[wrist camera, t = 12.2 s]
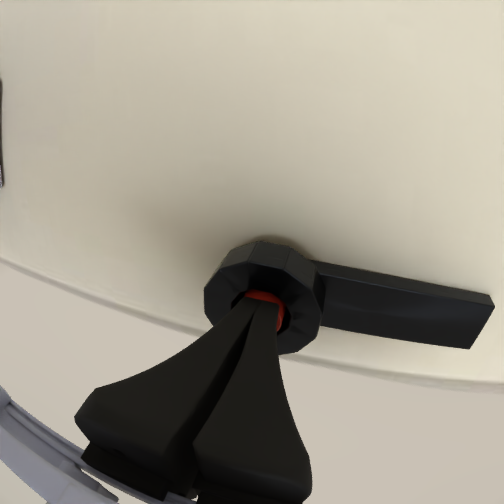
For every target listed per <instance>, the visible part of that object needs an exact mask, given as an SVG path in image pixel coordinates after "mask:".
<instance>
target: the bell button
mask: <svg viewBox="0 0 504 504" xmlns="http://www.w3.org/2000/svg"><path fill="white" fill-rule="evenodd" d="M245 296H246V297H251V298H255V299H260V300H264V301H269V302H273V303H277V304H278V305H279V306H280V308H279V314H278V320H277V331H278V330H279V329H280V327H281V325H282V321H283V318H284V314H285V311H286V305H285V303H284V302H283V301H282V300H280V299H279V298H278V297H276V296H275V295H273V294H272V293H268V292H264V291H259V290H254V289H253V290H249V291H245V294H244V296H243V297H245Z"/></svg>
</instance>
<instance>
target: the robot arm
mask: <svg viewBox="0 0 504 504" xmlns="http://www.w3.org/2000/svg"><path fill="white" fill-rule="evenodd" d="M1 187H2V178H1V167H0V188H1ZM279 308H280V306H279V305H278V304H277V303H273V302H269V301H264V300H260V299H255V298H251V297H246V296H245V297H243V298H242V299H241V300H240V301H239V302H238V303H237V305H236V306H235V307H234V308H233V309H232V310H231V311H230V312H229V313H228V314H227V315H226V316H225V317H223V318H222V319H221V320H220V321H219V322H218V323H217V324H216V325H215V326H213V327H212V328H211V329H210V330H209V331H208V332H206V333H205V334H204V335H202V336H201V337H200V338H199V339H197V340H196V341H195V342H193V343H192V344H191V345H189V346H188V347H187V348H185V349H183V350H182V351H180V352H179V353H177V354H176V355H174V356H172V357H171V358H169V359H167V360H165V361H164V362H162V363H160V364H158V365H156V366H154V367H152V368H150V369H148V370H146V371H144V372H141V373H139V374H136V375H134V376H132V377H130V378H127V379H124V380H121V381H118V382H116V383H112V384H109V385H106V386H102V387H99V388H96V389H95V390H94V391H93V392H92V393H91V394H90V395H89V396H88V398H87V399H86V400H85V402H84V403H83V405H82V406H81V408H80V409H79V410H78V412H77V413H76V415H75V416H74V418H75V423H76V424H77V426H78V427H79V428H80V430H81V431H82V432H83V433H84V435H85V436H86V437H87V439H88V440H89V441H90V443H89V445H88V446H87V448H86V449H85V450H83V449H81V448H80V447H78V446H76V445H74V444H73V443H71V442H70V441H68V440H67V439H65V438H63V437H62V436H60V435H59V434H58V433H56V432H54V431H53V430H51V429H50V428H49V427H47V426H46V425H44V424H43V423H42V422H40V421H39V420H37V419H36V418H35V417H33V416H32V415H31V414H29V413H28V412H27V411H25V410H24V409H23V408H22V407H20V406H19V405H18V404H17V403H15V402H14V401H13V400H12V399H11V397H10V396H9V395H8V393H7V392H6V391H5V390H4V389H3V388H2V387H1V386H0V459H1V460H2V461H3V462H4V463H5V464H6V465H7V466H8V467H9V468H10V469H11V470H12V471H13V472H14V473H15V474H16V475H17V476H18V477H19V478H20V479H22V480H23V481H24V482H25V483H26V484H27V485H28V486H29V487H31V488H32V489H33V490H34V491H35V492H36V493H38V494H39V495H40V496H41V497H43V498H44V499H45V500H46V501H47V503H46V504H119V503H117V502H118V500H119V499H118V497H117V496H115V495H114V494H112V493H111V492H109V491H108V490H107V489H105V488H104V487H103V486H102V485H101V484H100V483H99V482H97V481H96V480H94V479H93V478H91V477H90V476H88V475H87V474H85V473H84V472H82V470H81V469H83V470H84V471H86V472H88V473H90V474H91V475H93V476H95V477H96V478H98V479H100V480H102V481H104V482H105V483H107V484H109V485H111V486H113V487H115V488H117V489H119V490H121V491H123V492H125V493H127V494H129V495H131V496H133V497H135V498H137V499H139V500H142V501H144V502H146V503H148V504H302V503H303V501H305V500H306V499H307V498H308V497H309V496H310V494H311V491H312V472H311V465H310V459H309V455H308V453H307V451H306V449H305V447H304V444H303V442H302V440H301V437H300V435H299V432H298V430H297V428H296V425H295V422H294V419H293V416H292V413H291V410H290V407H289V404H288V401H287V397H286V393H285V389H284V385H283V380H282V376H281V371H280V364H279V357H278V348H277V320H278V314H279ZM197 495H198V499H197V502H196V501H193V500H191V499H194V498H196V497H197Z"/></svg>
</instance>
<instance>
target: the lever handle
mask: <svg viewBox="0 0 504 504" xmlns="http://www.w3.org/2000/svg"><path fill="white" fill-rule="evenodd" d="M253 289H254V290H259V291H264V292H268V293H272V294H273V295H275V296H276V297H278V298H279V299H280V300H282V301H283V302H284V303H285V305H286V311H285V314H284V318H283V321H282V325H281V327H280V329H279V330H278V331H277V348H278V355H282V354H289V353H295V352H298V351H299V350H301V349H302V348H303V347H305V346H306V345H307V344H309V343H310V342H311V341H313V340H314V339H315V338H316V337H317V334H318V331H319V327H320V326H324V327H329V328H335V329H340V330H345V331H351V332H356V333H362V334H368V335H374V336H379V337H385V338H392V339H398V340H404V341H411V342H417V343H424V344H431V345H438V346H446V347H454V348H462V349H470V348H471V346H472V345H473V343H474V342H475V340H476V338H477V337H478V335H479V334H480V332H481V330H482V329H483V327H484V325H485V324H486V322H487V320H488V319H489V317H490V315H491V313H492V312H493V310H494V308H495V305H494V303H493V301H492V299H491V297H490V296H489V295H485V294H480V293H475V292H470V291H465V290H460V289H455V288H450V287H445V286H440V285H435V284H430V283H425V282H420V281H415V280H410V279H405V278H400V277H395V276H390V275H385V274H380V273H375V272H370V271H365V270H360V269H355V268H350V267H345V266H339V265H334V264H329V263H324V262H319V261H314V260H309V259H306V258H305V257H303V256H302V255H301V254H300V253H298V252H297V251H296V250H294V249H293V248H290V246H285V245H280V244H274V243H269V242H264V241H259V242H254V243H251V244H248V245H245V246H241V247H238V248H235V249H233V250H231V251H230V252H229V253H228V254H227V256H226V257H225V258H224V260H223V261H222V262H221V263H220V265H219V266H218V267H217V269H216V270H215V272H214V273H213V275H212V276H211V278H210V279H209V281H208V283H207V284H206V286H205V287H204V312H205V314H206V316H207V318H208V319H209V321H210V322H211V324H212V325H213V326H215V325H216V324H217V323H218V322H219V321H220V320H221V319H222V318H223V317H225V316H226V315H227V314H228V313H229V312H230V311H231V310H232V309H233V308H234V307H235V306H236V305H237V303H238V302H239V301H240V300H241V299H242V298H243V296H244V294H245V291H249V290H253Z"/></svg>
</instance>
